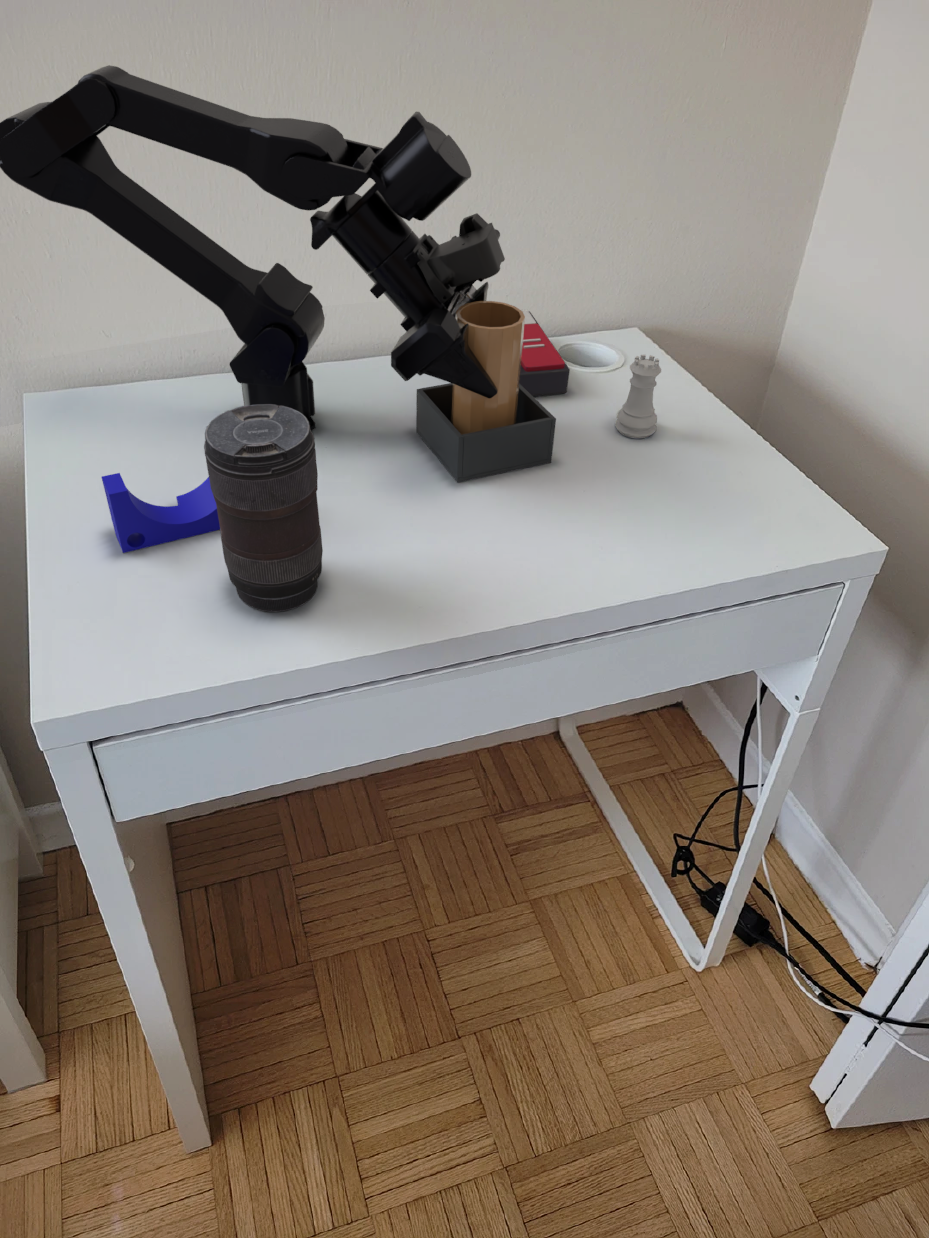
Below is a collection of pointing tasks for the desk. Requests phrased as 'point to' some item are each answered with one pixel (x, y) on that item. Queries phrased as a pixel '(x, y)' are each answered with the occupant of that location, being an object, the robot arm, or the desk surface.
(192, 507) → the blue semicircular cradle bracket
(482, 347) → the wooden cup
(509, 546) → the desk surface
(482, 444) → the bin
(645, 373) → the rook chess piece
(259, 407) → the camera lens
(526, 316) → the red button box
